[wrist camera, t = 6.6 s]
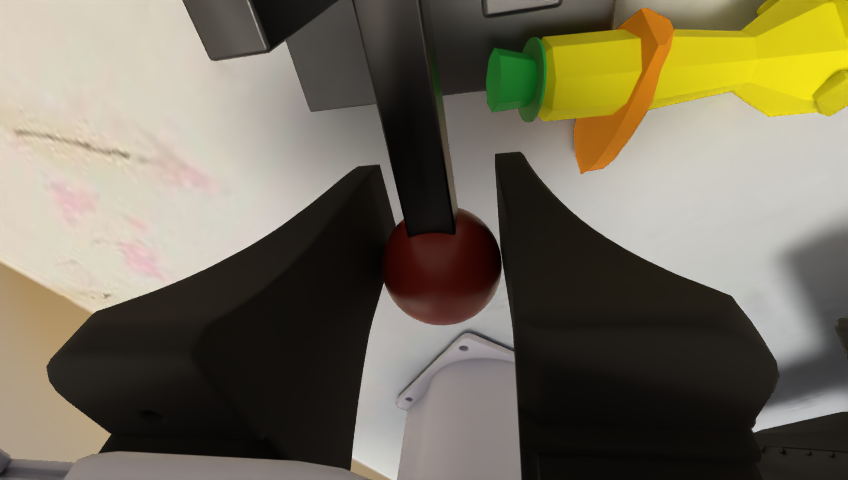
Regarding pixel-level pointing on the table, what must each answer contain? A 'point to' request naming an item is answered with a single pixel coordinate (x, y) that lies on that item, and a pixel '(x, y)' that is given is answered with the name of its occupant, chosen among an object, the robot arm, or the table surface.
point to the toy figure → (675, 71)
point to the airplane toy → (807, 443)
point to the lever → (423, 173)
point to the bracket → (343, 51)
